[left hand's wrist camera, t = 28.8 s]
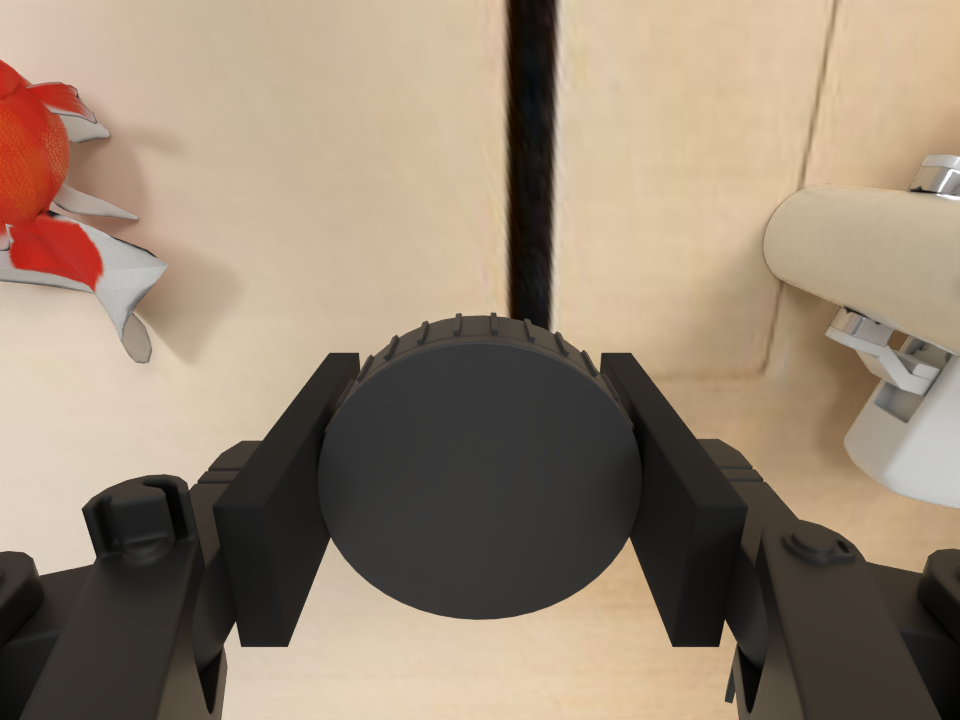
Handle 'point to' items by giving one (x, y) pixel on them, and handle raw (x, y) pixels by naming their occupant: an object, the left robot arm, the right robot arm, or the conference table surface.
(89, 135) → the fish
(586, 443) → the lid
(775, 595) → the left robot arm
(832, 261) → the jar
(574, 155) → the conference table surface
